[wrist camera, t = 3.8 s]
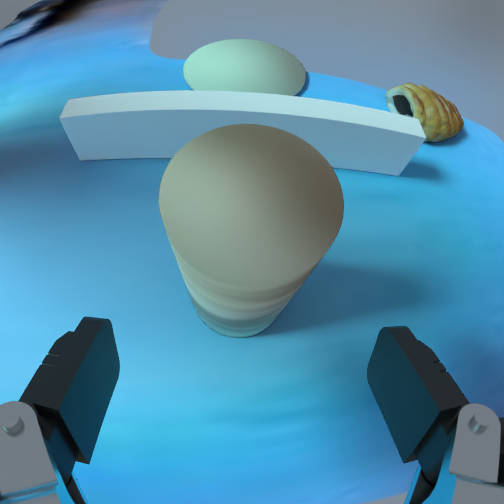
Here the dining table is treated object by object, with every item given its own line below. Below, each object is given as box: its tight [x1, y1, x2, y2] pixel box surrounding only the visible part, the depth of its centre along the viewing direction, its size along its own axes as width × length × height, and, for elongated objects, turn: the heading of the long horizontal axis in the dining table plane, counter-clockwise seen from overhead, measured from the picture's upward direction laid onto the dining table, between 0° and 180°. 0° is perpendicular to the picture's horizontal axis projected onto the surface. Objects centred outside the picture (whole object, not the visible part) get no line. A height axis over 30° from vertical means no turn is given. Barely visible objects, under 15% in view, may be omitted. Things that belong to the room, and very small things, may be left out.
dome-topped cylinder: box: [159, 124, 344, 338], centre depth 14 cm, size 6×6×11 cm
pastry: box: [385, 83, 464, 142], centre depth 26 cm, size 9×7×4 cm
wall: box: [59, 90, 426, 176], centre depth 21 cm, size 26×2×5 cm, turn 90°
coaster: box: [183, 39, 306, 96], centre depth 28 cm, size 12×12×1 cm
